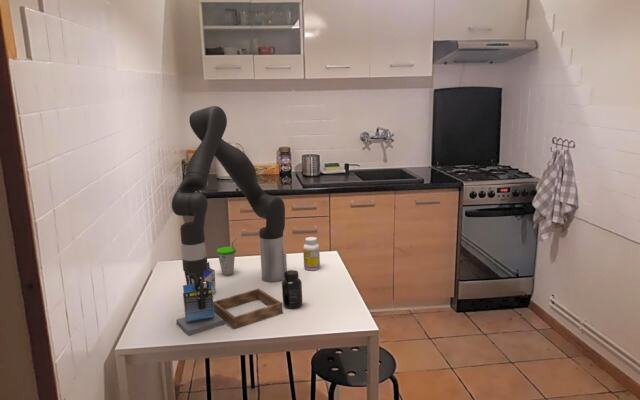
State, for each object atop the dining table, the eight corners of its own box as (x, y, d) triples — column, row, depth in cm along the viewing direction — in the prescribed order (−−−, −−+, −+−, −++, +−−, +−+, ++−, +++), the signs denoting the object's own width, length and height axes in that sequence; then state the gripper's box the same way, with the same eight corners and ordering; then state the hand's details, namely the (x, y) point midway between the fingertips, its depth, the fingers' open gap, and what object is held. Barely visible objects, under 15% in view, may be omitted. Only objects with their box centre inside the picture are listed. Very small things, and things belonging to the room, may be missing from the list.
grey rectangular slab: (211, 313, 170) (210, 309, 170) (224, 324, 162) (223, 319, 162) (176, 323, 163) (176, 319, 163) (188, 335, 155) (188, 331, 155)
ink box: (203, 303, 178) (201, 272, 176) (197, 303, 179) (195, 272, 176) (216, 290, 189) (214, 261, 186) (210, 290, 190) (208, 261, 187)
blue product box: (213, 312, 165) (210, 277, 162) (214, 317, 162) (211, 281, 159) (185, 317, 162) (181, 281, 160) (186, 322, 159) (182, 285, 156)
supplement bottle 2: (302, 266, 212) (301, 236, 209) (317, 264, 213) (317, 235, 210) (305, 271, 205) (304, 241, 203) (321, 269, 207) (320, 239, 204)
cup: (213, 275, 204) (211, 239, 201) (227, 269, 211) (224, 234, 208) (228, 278, 200) (226, 242, 197) (241, 272, 207) (239, 237, 203)
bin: (258, 297, 182) (258, 288, 181) (282, 312, 169) (282, 303, 168) (212, 311, 171) (211, 302, 170) (234, 328, 159) (233, 318, 158)
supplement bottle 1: (305, 302, 177) (304, 269, 174) (298, 310, 171) (297, 276, 168) (287, 299, 179) (285, 268, 176) (279, 307, 173) (278, 275, 170)
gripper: (215, 258, 154) (219, 310, 158) (196, 247, 165) (200, 296, 169) (191, 264, 150) (196, 317, 153) (174, 252, 161) (179, 302, 165)
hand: (198, 306), depth 161 cm, fingers closed on blue product box, 4 cm apart
